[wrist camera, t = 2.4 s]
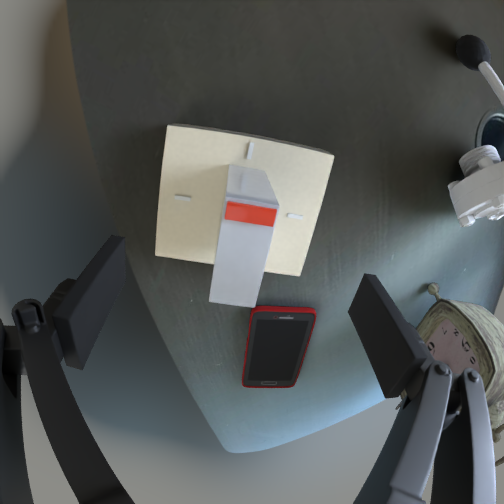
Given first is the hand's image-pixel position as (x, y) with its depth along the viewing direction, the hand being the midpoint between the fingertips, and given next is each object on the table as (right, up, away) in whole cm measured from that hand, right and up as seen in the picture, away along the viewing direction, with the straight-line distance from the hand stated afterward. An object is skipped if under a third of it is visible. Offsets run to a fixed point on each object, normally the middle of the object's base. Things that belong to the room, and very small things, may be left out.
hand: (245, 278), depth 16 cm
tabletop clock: (+25, -8, +22) cm, 34 cm away
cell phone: (+3, -11, +22) cm, 25 cm away
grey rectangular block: (-1, +5, +10) cm, 11 cm away
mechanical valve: (+24, +16, +9) cm, 30 cm away
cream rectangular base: (-1, +7, +13) cm, 14 cm away
